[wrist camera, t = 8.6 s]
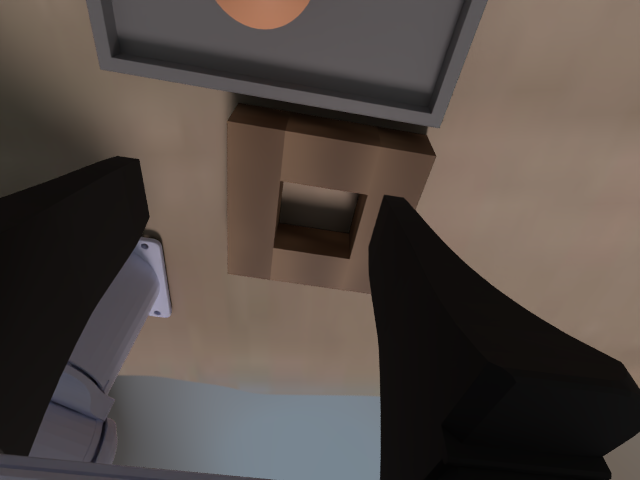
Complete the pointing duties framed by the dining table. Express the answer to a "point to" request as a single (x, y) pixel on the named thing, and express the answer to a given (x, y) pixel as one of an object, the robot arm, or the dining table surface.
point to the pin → (263, 11)
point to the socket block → (321, 171)
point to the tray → (300, 51)
